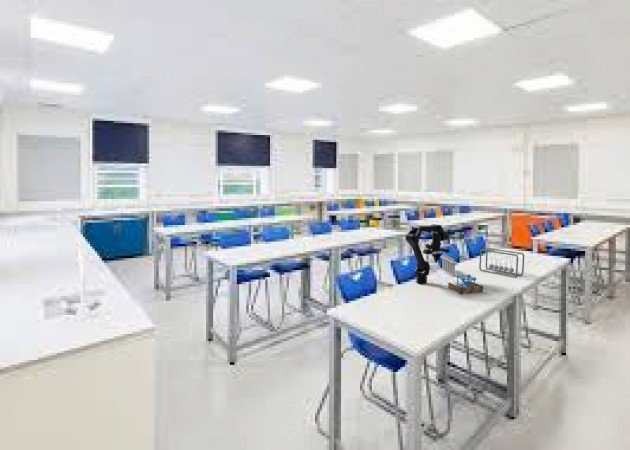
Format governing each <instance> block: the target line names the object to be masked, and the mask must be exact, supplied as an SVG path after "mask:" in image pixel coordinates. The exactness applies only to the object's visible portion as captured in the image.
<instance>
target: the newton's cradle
mask: <svg viewBox="0 0 630 450" xmlns="http://www.w3.org/2000/svg"><path fill="white" fill-rule="evenodd" d="M482 252H485V269H482ZM489 253H490V255H491V253H492V254H499V255H502V256H501V257H502V258H503V257H504V256H503V255H506V256H507V257H506V258H508V257H509V256H512V259H509V260H510V264H512V261H513V259H514V257H516V259H515V261H516V262H515V265H516V266H515V268H513V265H510V267H507V263H508V262H504V264H505V266H503V265H502V263H503V262H502V259H500V261H499V263H500V265H497V262H495V264H493V263H490V264H488V254H489ZM499 255H497V257H496V255H494V257H495V258H494V257H491V260H493V259H495V261H497V259H498V257H499ZM519 255H522V264H521V265H522V266H521V273H519V272H518V271H519ZM478 269H479V271H480V272H484V273H489V274H495V275H499V276H503V277H509V278H514V279H515V278H517V277H518V276H520V277H521V276H524V271H525V254H524V253H523V252H518V251H512V250H505V249H498V248H490V247H488V248H486V249H485V248H484V249H483V248H482V249H480V250H479V266H478Z"/></svg>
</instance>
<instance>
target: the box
mask: <svg viewBox="0 0 630 450" xmlns="http://www.w3.org/2000/svg"><path fill="white" fill-rule="evenodd" d="M469 281H470V280H469ZM467 282H468V281H467ZM469 285H470V286H471V287H464V286H463V287H464V288H461V287H462V286H460V285H458V286H457V284H454V283H452V282H448V283H447V289H448V290H450V291H453V292H455V293H457V294H459V295H469V294H479V293H483V292H484V286H483V285H481V284H479V283H477V282H475V286H474V281H470V282H469ZM459 286H460V287H459Z"/></svg>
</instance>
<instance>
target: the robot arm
mask: <svg viewBox="0 0 630 450" xmlns="http://www.w3.org/2000/svg"><path fill="white" fill-rule="evenodd" d="M422 232H423V233H424V232H426V233H427V232H431V234H430V235H429V236H430V237H432V242H430V244H429V243H427V244H425V249H423V250H422V251H421V247H420V245H419V242H420V238H421V236H422V235H421V234H422ZM449 239H450V235H449V234H448V231H445V230H444V228H443V226H442V225H441V224H435V223H433V224H430V225H416V226H414V227H413V228H411V230H409V231H408V233H406V235H405V241H406V243H408V244H409V245H410V246H411V249H412V252H413V254H414V256H415V258H416V261H417V263H416V268H415V270H414V274H415V275H416V280H415V283H416V282H417V283H416V284H418V285H425V284H428V276H429V275H430V271H431V265H430V263H429V262H430V261H427V260H425V258H424V255H432V257H433V261H434V263H436V264H437V263H438V261H439V259H440V258H441V257H440V256H443V253H444V254H449V253H450V249H449V248H447V247H442V248H441V246H442V244H443V243H442V242H443V241H444V242H445V241H448V240H449ZM423 254H424V255H423Z"/></svg>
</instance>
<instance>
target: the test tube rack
mask: <svg viewBox="0 0 630 450" xmlns="http://www.w3.org/2000/svg"><path fill="white" fill-rule="evenodd" d="M440 258H441V259H442V265H441V266H442V267H441V268H439V270H440V271H442V272H443V271H444V273H445V274H446V273H447V274H446V275H448V276H450V277H452V278H457V277H456V275H457V274H455V273H456V264H458V263H459V262H457V261H455V258H453V257H450V256H448V255H447V254H446V253H442V255H441V256H440Z"/></svg>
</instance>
